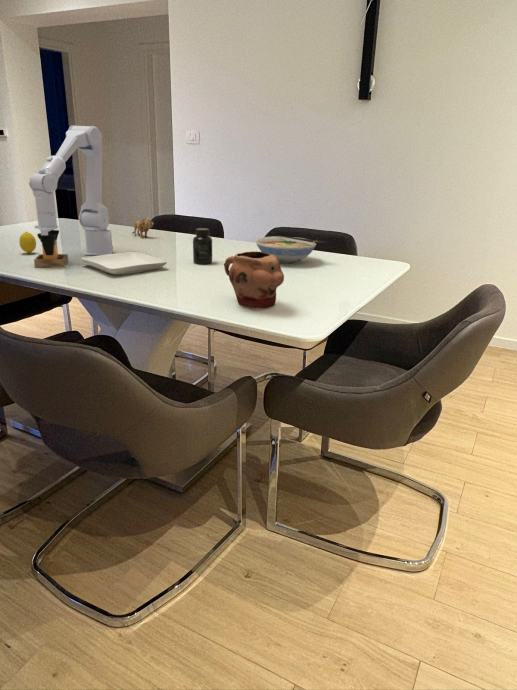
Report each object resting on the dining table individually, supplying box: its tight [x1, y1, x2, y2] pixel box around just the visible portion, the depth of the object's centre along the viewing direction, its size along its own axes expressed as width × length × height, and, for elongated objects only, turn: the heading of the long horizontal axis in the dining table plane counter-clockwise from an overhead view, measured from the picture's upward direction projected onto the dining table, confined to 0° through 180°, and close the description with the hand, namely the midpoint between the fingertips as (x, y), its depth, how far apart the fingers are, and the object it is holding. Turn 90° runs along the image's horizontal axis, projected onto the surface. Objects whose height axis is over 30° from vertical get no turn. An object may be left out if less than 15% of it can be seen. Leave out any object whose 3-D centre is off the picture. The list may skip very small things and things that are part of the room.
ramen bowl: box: [254, 234, 327, 264], centre depth 191 cm, size 25×23×8 cm
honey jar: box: [41, 239, 59, 259], centre depth 171 cm, size 4×4×6 cm
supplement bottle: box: [192, 227, 213, 266], centre depth 182 cm, size 7×7×12 cm
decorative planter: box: [223, 250, 285, 310], centre depth 136 cm, size 20×12×14 cm, turn 55°
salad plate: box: [80, 251, 168, 276], centre depth 172 cm, size 21×21×3 cm
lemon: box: [18, 231, 37, 255], centre depth 186 cm, size 6×6×8 cm
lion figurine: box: [132, 217, 155, 239], centre depth 228 cm, size 15×5×9 cm, turn 46°
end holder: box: [33, 253, 69, 268], centre depth 173 cm, size 9×9×2 cm
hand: (50, 253), depth 172 cm, fingers closed on honey jar, 4 cm apart
